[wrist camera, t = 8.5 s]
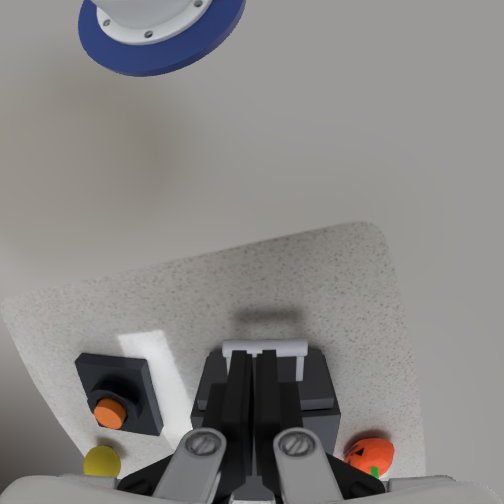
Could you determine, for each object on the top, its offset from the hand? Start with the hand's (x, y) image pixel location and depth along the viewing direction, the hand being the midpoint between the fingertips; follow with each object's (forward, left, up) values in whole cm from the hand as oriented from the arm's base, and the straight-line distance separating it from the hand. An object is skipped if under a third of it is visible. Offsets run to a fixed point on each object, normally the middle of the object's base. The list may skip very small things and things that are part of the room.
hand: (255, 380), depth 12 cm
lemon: (+31, -24, -19) cm, 43 cm away
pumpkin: (+29, +14, -19) cm, 37 cm away
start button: (+18, -18, -15) cm, 29 cm away
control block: (+18, -18, -19) cm, 31 cm away
